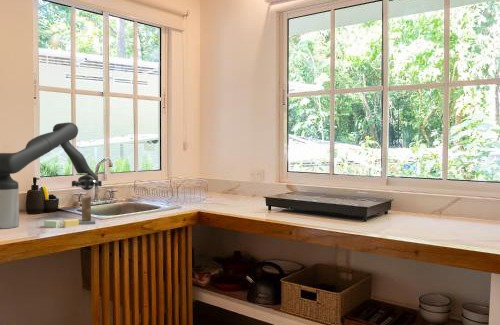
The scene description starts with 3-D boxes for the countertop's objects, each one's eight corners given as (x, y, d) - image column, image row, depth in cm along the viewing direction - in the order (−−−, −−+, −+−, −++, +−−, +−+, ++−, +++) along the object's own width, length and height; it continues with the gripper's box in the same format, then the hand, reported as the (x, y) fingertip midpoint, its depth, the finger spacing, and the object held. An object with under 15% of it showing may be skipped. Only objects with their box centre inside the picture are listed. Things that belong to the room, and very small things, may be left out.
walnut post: (81, 221, 209) (81, 198, 208) (81, 219, 212) (81, 196, 212) (90, 220, 210) (90, 197, 210) (90, 219, 214) (90, 196, 213)
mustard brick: (65, 228, 200) (65, 221, 199) (63, 227, 202) (63, 220, 202) (78, 226, 204) (78, 219, 203) (76, 225, 206) (76, 219, 206)
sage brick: (43, 227, 200) (43, 220, 200) (47, 226, 203) (47, 219, 203) (56, 228, 199) (56, 221, 199) (60, 226, 202) (60, 220, 202)
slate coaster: (77, 224, 206) (77, 222, 206) (77, 221, 214) (77, 219, 214) (95, 223, 209) (95, 221, 209) (95, 221, 216) (95, 218, 216)
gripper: (73, 175, 234) (71, 177, 218) (101, 175, 238) (101, 177, 223) (72, 189, 234) (71, 192, 218) (101, 189, 238) (101, 192, 223)
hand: (86, 184), depth 221 cm, fingers open, 8 cm apart
